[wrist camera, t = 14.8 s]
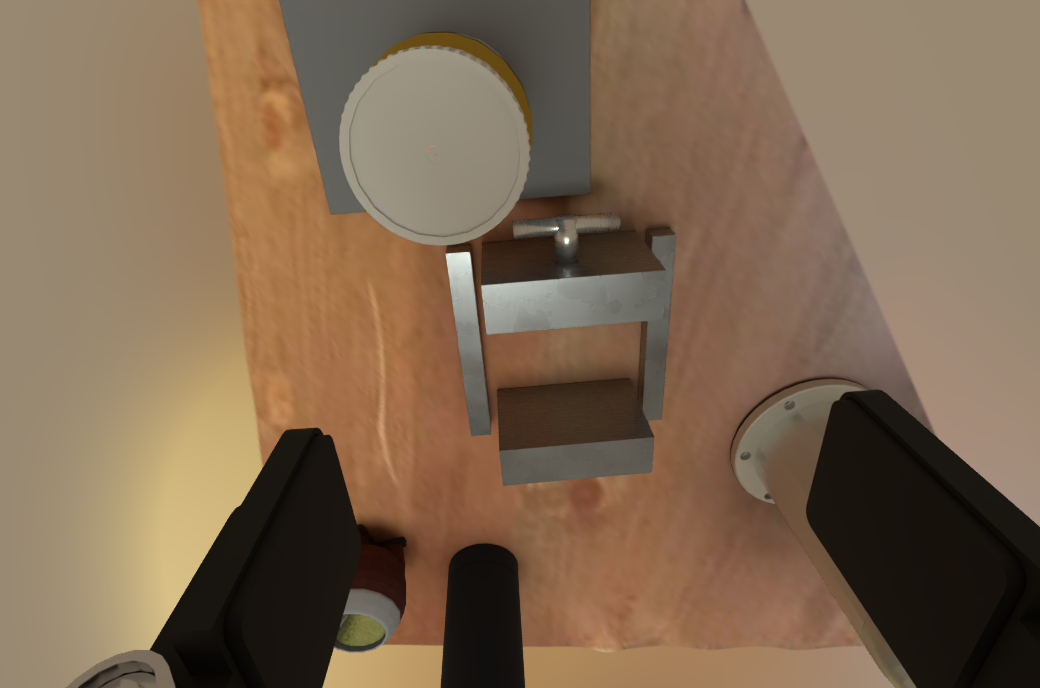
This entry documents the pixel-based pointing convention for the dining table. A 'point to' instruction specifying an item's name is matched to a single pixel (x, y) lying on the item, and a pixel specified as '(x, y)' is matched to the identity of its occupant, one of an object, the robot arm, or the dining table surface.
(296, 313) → the dining table surface
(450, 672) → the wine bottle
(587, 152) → the mat
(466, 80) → the bottle
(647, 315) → the vise
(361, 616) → the mate gourd
